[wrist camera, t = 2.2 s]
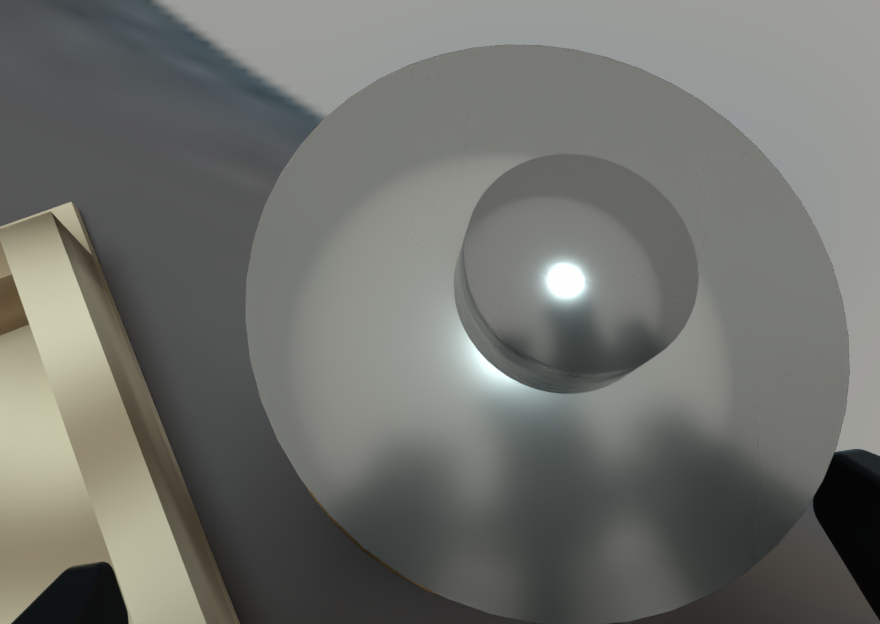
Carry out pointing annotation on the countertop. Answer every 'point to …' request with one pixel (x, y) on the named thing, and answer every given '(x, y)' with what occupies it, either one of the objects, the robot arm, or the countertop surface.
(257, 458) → the countertop surface
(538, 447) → the cell
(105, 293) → the cradle
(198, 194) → the countertop surface
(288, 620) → the countertop surface
